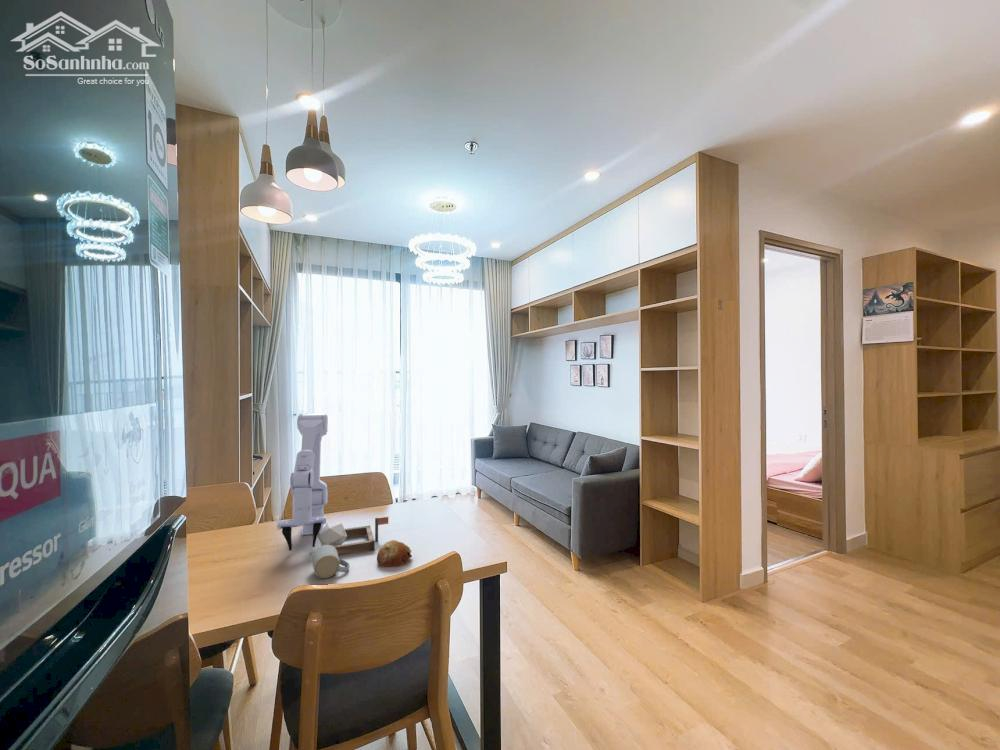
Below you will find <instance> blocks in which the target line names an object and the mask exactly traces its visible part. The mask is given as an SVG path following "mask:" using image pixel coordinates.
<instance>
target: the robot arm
mask: <svg viewBox="0 0 1000 750" xmlns="http://www.w3.org/2000/svg"><path fill="white" fill-rule="evenodd" d="M296 419H297V420H296V422H297V423H296V426H297V430H298V431H299V433H300V435H301V449H300V451H299V452H297V454H296V457H295V464H294V469H293V472H291V474H290V479H289V483H290V485H289V486H290V492H291V495H292V518H291V519H286V520H283V521H282V520H281V521H278V522H277V524H276V525H277V527H276V528H277V529H276V530H278V531H280V530H281V533H282V536H283V537H284V539H285V541H286V543H287V546H288V551H292V549H293V543H292V541H293V540H292V528H296V527H301V529H300V530H301V531H300V536H307V535H312V543H311V544H312V545H311V547H312V548H315V547H316V542H317V538H318V535H319V534H320V533H321V531H322V530H323V528H324V527H325V526H326V524H327V516H326V515H324V509H325V508H324V506H326V505H327V504H328V500H329V491H328V484H327V483H326V482H324V481H323V480H321V454H322V453H321V446H322V444H321V443H322V439H323V438H322V437H324V436H327V433H328V419H329V418H328V415H327V413H305V414H304V413H299V414H298V416H297V418H296Z"/></svg>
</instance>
